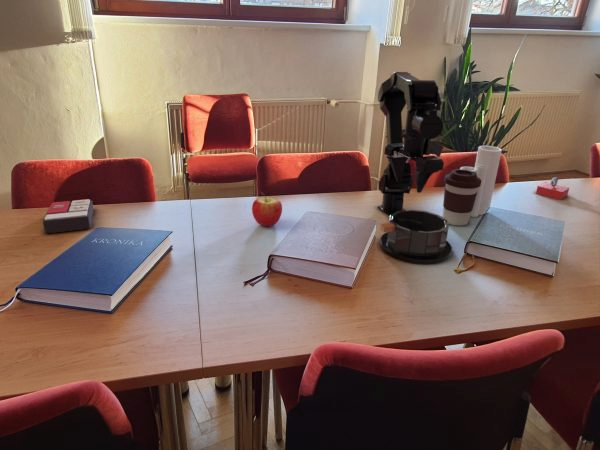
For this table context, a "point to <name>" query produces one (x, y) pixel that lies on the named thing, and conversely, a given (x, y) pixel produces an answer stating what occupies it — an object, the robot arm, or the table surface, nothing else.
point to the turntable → (414, 259)
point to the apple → (266, 211)
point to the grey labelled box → (68, 216)
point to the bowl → (416, 232)
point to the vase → (485, 177)
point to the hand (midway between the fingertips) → (408, 187)
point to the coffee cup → (460, 196)
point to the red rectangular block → (552, 189)
